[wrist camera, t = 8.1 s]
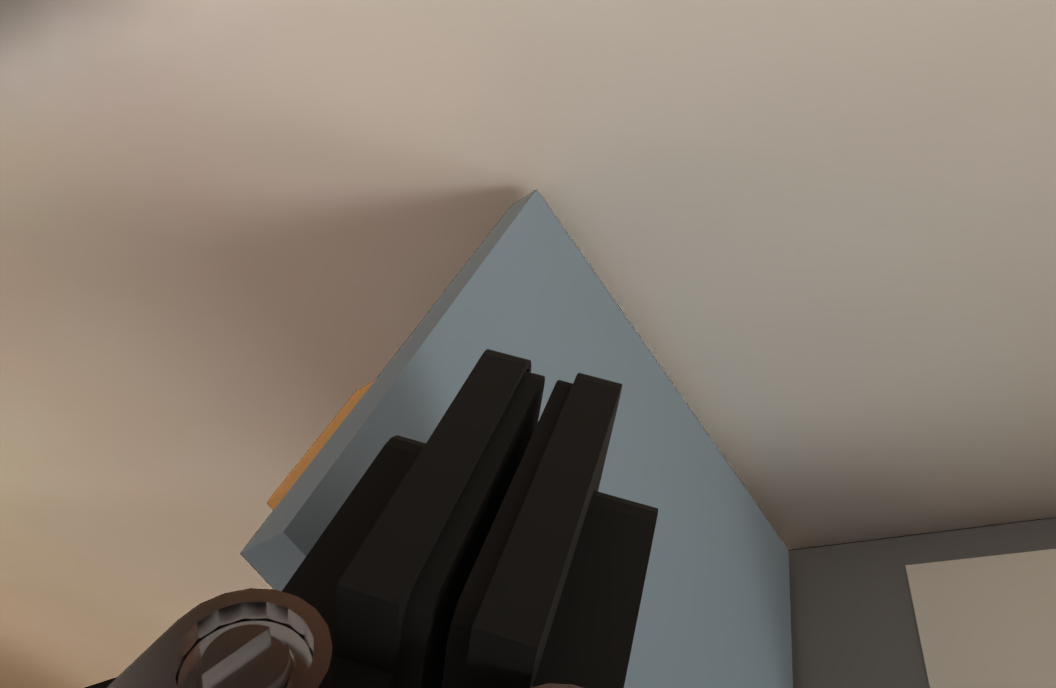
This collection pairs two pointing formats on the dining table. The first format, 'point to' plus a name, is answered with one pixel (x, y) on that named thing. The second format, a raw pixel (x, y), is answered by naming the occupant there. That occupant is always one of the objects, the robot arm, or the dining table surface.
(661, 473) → the side door
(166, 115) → the dining table surface
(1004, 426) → the dining table surface
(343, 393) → the dining table surface
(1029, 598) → the box
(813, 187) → the dining table surface
